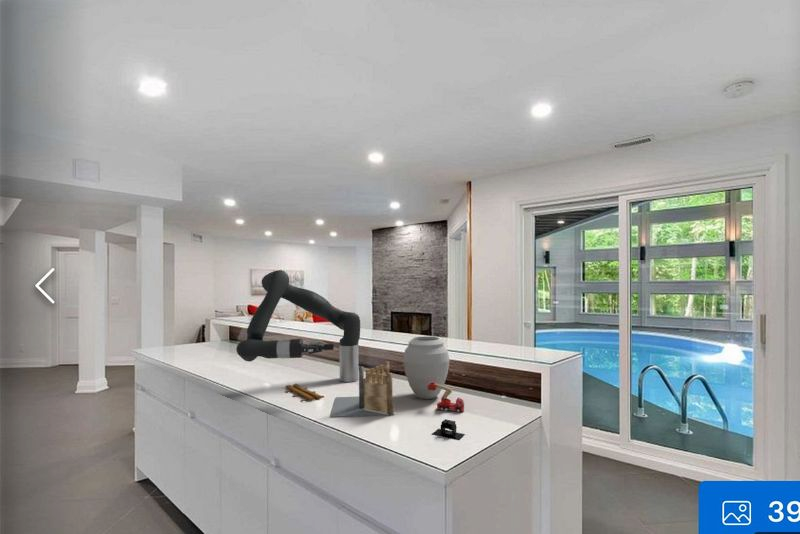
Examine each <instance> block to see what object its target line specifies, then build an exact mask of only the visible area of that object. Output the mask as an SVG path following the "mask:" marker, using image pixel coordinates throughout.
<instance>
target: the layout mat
mask: <svg viewBox="0 0 800 534" xmlns="http://www.w3.org/2000/svg"><path fill="white" fill-rule="evenodd" d="M394 411H395V410H394V409H393V414H392V415H391V416H395V412H394ZM388 415H389V414H387V413H385V412H380V411H375V410H370V409H365V406H364V408H363V409H360V408H359V395H358V396H336V397H335V399H334V402H333V407H332V409H331V414H330V417H331V418H348V417H347V416H358V417H381V416H385V417H386V416H388ZM345 416H346V417H345Z"/></svg>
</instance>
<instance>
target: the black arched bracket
mask: <svg viewBox="0 0 800 534" xmlns="http://www.w3.org/2000/svg"><path fill="white" fill-rule="evenodd" d="M431 435H432V436H435V437H441V438H445V439H452V440H455V441H460V440H462V438H464V436H465V435H466V434H465V433H461V432H457V424H456V421H454V420H450V419H443V420H442V421H441V424H440V428H438V429H436V430H435V431H434V432H432V433H431Z"/></svg>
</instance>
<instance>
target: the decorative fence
mask: <svg viewBox="0 0 800 534" xmlns="http://www.w3.org/2000/svg"><path fill="white" fill-rule="evenodd" d="M285 388H286V389H288V390H285V391H284V393H286V394H289V393H295V394H293V395H292V397H293V398H298V397H303V398H304V399H301V400H300V402H302V401H306V402H309V401H308V400H310V401H314V399H315V400H319V399H323V398H325V395H320V394H318V393H316V391H313V390H309V389H308V387H303V386H301V385H299V384H297V383H294V384H292V385H290V384H289V385H285ZM288 392H289V393H288Z"/></svg>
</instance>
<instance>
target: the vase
mask: <svg viewBox="0 0 800 534" xmlns="http://www.w3.org/2000/svg"><path fill="white" fill-rule="evenodd" d="M402 360H403V366H404V367H403V368H404V374H405V377H406V380H407V382H408V385H409V387H410V388H411V391H412V392H413V394H414V395H415V396H416V397H418V398H419V399H421V400H432V399H435V398H437V396H439V394H440V393H441V391H442V389H440V388H436V390H435V391H433V390H428V385H429V384H430V383H434V382H437V384H439V385H442V386H445V383H446V380H447V376H448V374H449V367H450V356H449V351H448V349H447V348H446V347H445V345H444V341H443V340H442V339H440V338H439V337H436V336H415V337H412V338H411V340H409V341H408V345H407V347H406V348H405V349H404V354H403V358H402Z"/></svg>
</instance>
